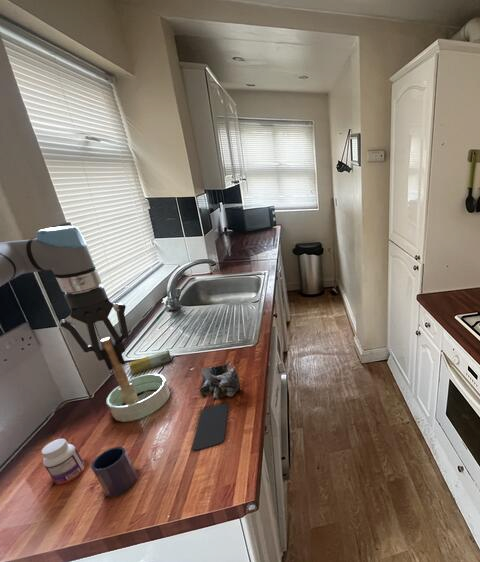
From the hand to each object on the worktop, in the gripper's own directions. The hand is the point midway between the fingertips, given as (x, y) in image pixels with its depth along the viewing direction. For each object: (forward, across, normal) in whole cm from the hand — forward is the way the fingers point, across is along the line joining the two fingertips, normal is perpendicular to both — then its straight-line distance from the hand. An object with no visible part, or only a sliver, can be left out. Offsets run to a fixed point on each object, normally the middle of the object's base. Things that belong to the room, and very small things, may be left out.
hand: (116, 365), depth 86 cm
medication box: (+16, +10, +19) cm, 27 cm away
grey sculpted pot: (+16, +21, -12) cm, 29 cm away
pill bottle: (+16, -16, -13) cm, 26 cm away
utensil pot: (+16, -9, -26) cm, 32 cm away
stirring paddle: (+13, 0, 0) cm, 13 cm away
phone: (+16, +12, -26) cm, 33 cm away
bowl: (+16, +2, 0) cm, 16 cm away
